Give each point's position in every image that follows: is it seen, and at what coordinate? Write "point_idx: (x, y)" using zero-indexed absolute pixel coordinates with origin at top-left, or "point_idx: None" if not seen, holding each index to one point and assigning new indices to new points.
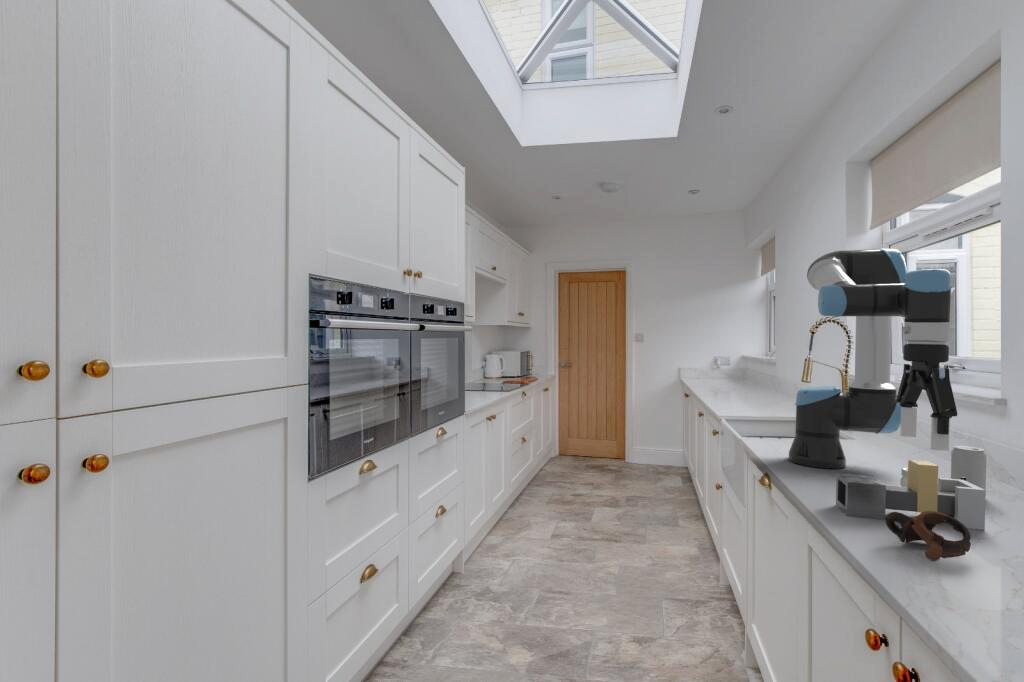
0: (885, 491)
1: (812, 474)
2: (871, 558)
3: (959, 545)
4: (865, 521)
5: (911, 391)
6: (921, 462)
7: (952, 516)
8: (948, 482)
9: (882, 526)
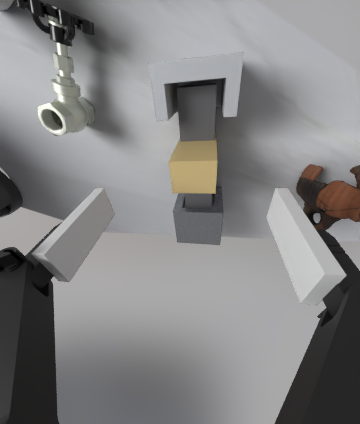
0: (222, 207)
1: (58, 203)
2: (340, 234)
3: None
4: (232, 207)
5: (48, 373)
6: (191, 180)
7: None
8: (167, 104)
9: (246, 197)
